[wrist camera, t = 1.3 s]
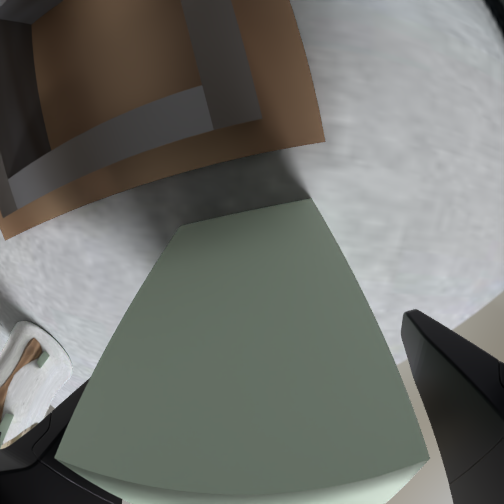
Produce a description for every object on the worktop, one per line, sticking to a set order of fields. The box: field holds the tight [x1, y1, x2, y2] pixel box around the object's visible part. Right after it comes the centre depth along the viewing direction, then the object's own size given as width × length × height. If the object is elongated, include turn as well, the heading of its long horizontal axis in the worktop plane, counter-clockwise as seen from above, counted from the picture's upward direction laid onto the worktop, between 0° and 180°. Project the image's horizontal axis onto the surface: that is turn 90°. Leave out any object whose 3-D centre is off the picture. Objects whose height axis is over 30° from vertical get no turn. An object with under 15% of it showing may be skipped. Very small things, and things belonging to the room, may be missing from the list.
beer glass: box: [0, 321, 73, 449], centre depth 10 cm, size 7×7×15 cm
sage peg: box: [54, 198, 430, 504], centre depth 8 cm, size 6×6×10 cm
